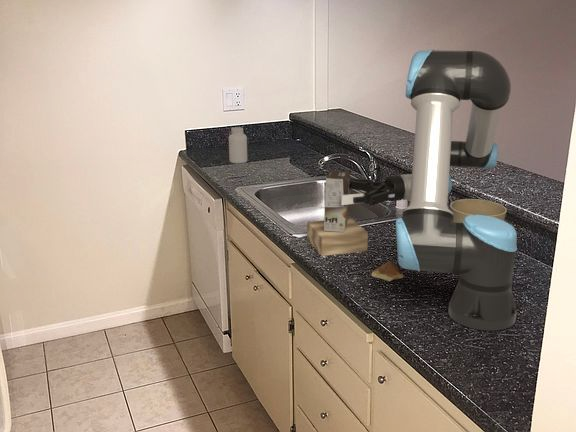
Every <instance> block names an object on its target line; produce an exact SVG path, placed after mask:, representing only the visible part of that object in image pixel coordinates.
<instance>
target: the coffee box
mask: <svg viewBox="0 0 576 432" xmlns="http://www.w3.org/2000/svg"><path fill="white" fill-rule="evenodd" d="M350 175H351V172H350V171H348V170H347V171H346V170H332V169H331V170H328V172H327V175H326V177H325V190H324V191H325V194H324V195H325V196H324V214H323V215H324V218H323V219H324V231H335V232H345V228H346V225H347V218H349V215H348V213H349V204H348V205H341V195H349V194H350V189H349V179H350V178H351V177H350Z"/></svg>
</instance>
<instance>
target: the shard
mask: <svg viewBox="0 0 576 432" xmlns="http://www.w3.org/2000/svg"><path fill="white" fill-rule="evenodd" d="M371 277H374V278H378V279H382V280H385V281H387V282H391V281H393V280H398V279H403V278H404V277H405V276H404V273H403V272H402V271H401V270H400V268H399V267H398V266H397V264H395V263H394V262H393V261H392V259H390V260H389V261H387V262H385V263H383V264H381V265H380V266H379V267H377V268H375V269H374V270H373V271H372V272H371Z"/></svg>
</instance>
